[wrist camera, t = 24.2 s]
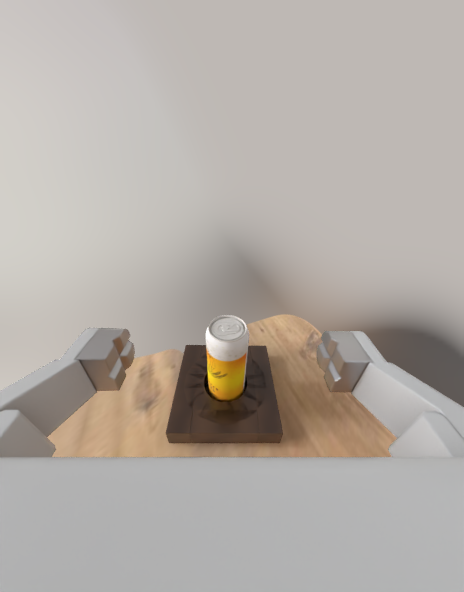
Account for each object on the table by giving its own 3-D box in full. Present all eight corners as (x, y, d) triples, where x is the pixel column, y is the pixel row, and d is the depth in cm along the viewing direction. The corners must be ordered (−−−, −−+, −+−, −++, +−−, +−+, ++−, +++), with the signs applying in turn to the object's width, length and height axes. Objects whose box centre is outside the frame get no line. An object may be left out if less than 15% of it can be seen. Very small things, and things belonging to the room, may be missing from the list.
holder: (168, 443, 30) (165, 433, 29) (187, 355, 44) (185, 344, 42) (279, 443, 31) (283, 433, 29) (264, 355, 44) (266, 345, 42)
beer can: (208, 378, 39) (204, 314, 31) (240, 374, 40) (245, 312, 32) (209, 410, 34) (206, 345, 26) (246, 405, 35) (254, 341, 27)
